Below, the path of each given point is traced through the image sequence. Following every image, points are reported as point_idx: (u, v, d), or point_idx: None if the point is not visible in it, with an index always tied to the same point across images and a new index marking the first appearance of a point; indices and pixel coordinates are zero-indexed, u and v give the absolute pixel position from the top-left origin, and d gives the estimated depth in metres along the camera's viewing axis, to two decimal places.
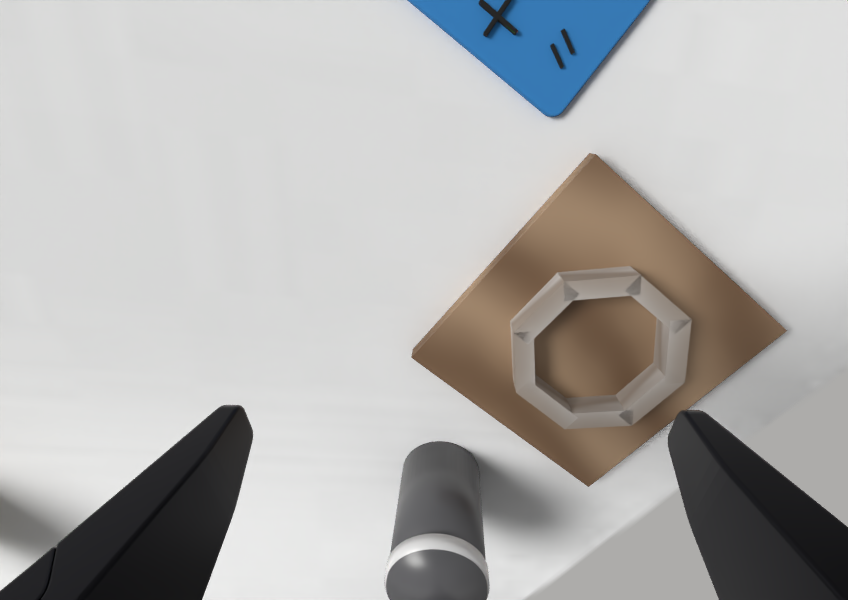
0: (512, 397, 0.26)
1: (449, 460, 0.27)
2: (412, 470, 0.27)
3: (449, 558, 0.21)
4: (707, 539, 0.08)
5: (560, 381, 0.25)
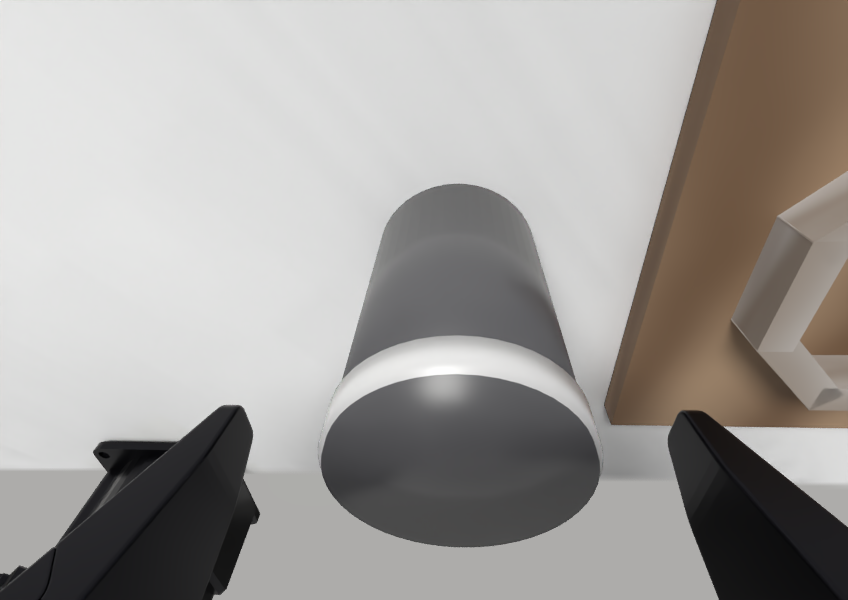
0: (729, 243, 0.13)
1: (536, 251, 0.13)
2: (472, 214, 0.12)
3: (581, 451, 0.07)
4: (707, 539, 0.08)
5: None
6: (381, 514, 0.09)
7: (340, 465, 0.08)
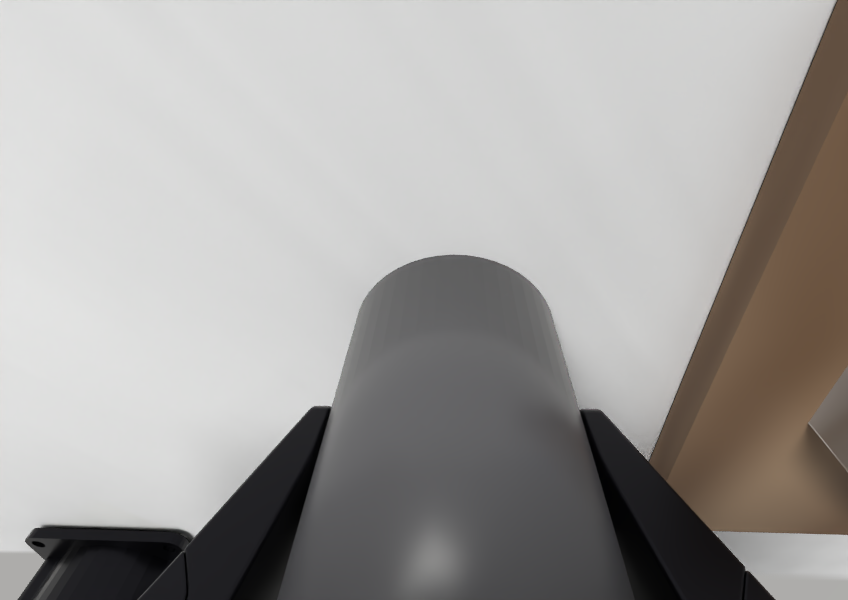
0: (818, 338, 0.09)
1: (561, 350, 0.09)
2: (475, 310, 0.08)
3: None
4: None
5: None
6: None
7: None
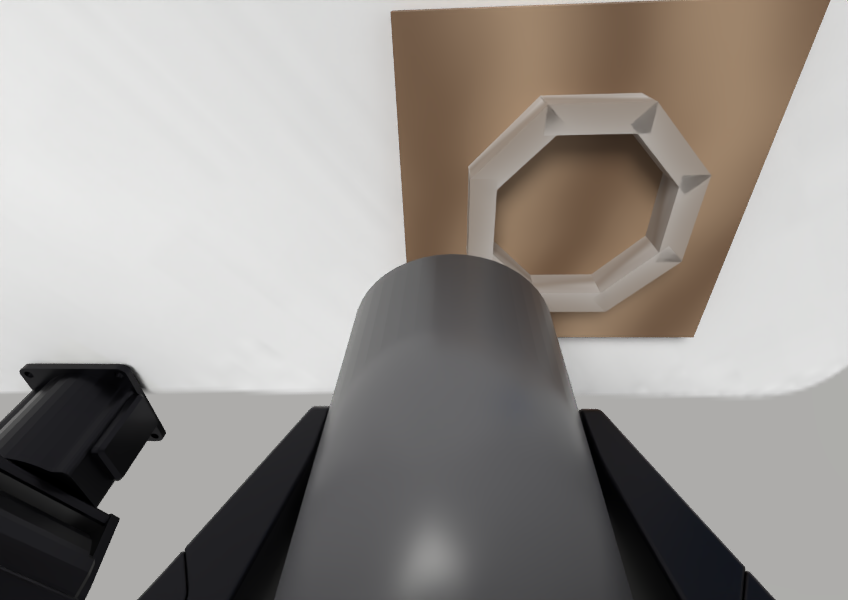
0: (444, 186, 0.18)
1: (559, 350, 0.09)
2: (473, 309, 0.08)
3: None
4: None
5: (504, 215, 0.19)
6: None
7: None
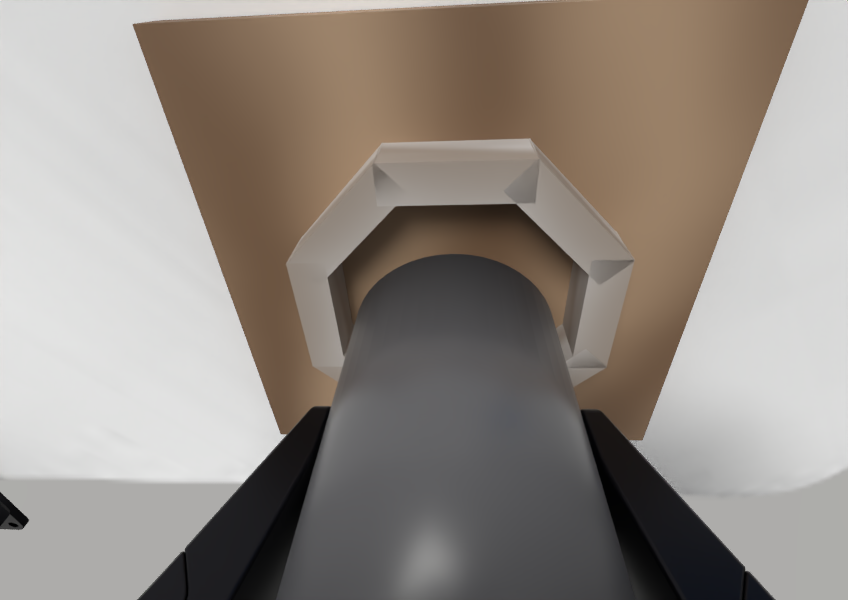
0: (276, 262, 0.13)
1: (561, 349, 0.09)
2: (475, 309, 0.08)
3: None
4: None
5: None
6: None
7: None
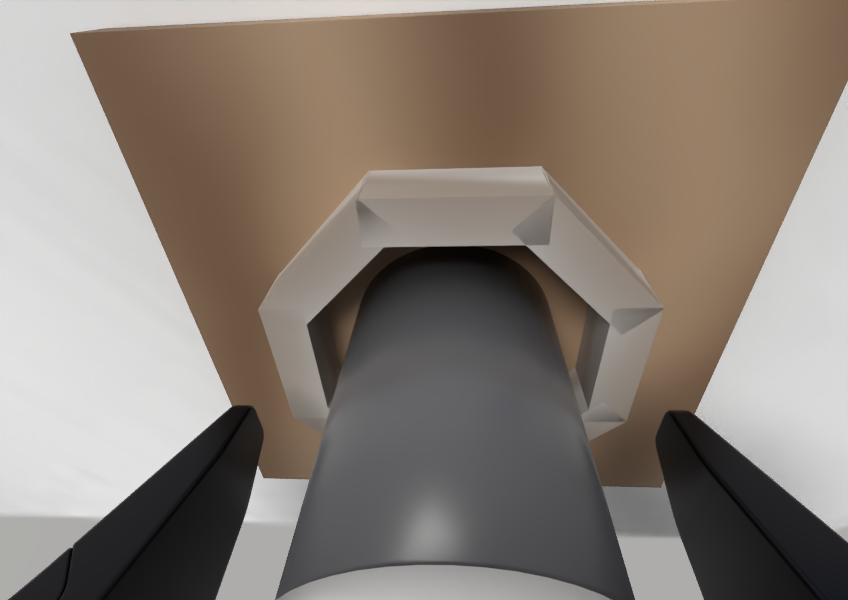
0: (251, 301, 0.12)
1: (556, 335, 0.10)
2: (474, 294, 0.09)
3: None
4: (692, 539, 0.08)
5: None
6: None
7: None
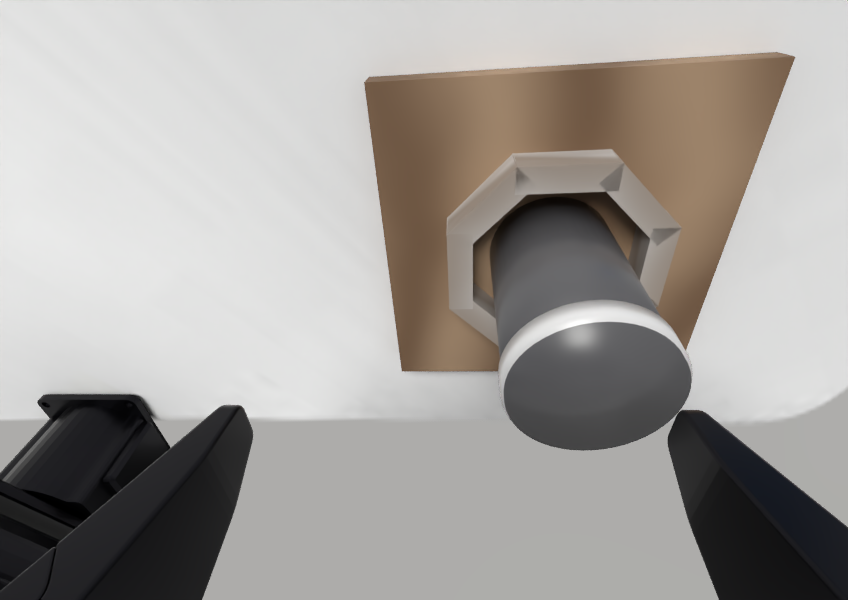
0: (425, 236, 0.19)
1: None
2: (576, 220, 0.16)
3: (680, 372, 0.12)
4: (707, 539, 0.08)
5: (484, 261, 0.19)
6: (535, 424, 0.13)
7: (518, 386, 0.12)
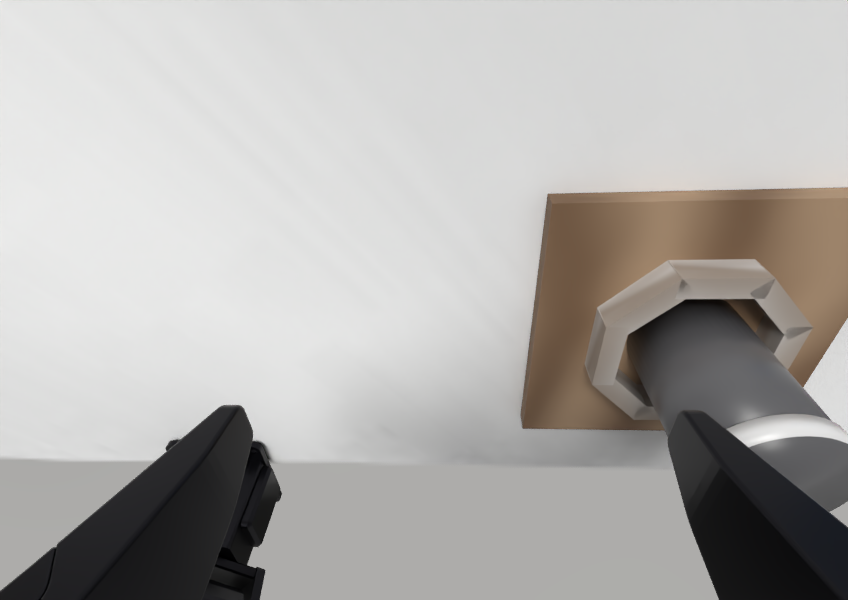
0: (573, 321, 0.21)
1: None
2: (728, 321, 0.18)
3: None
4: (707, 539, 0.08)
5: None
6: None
7: None
